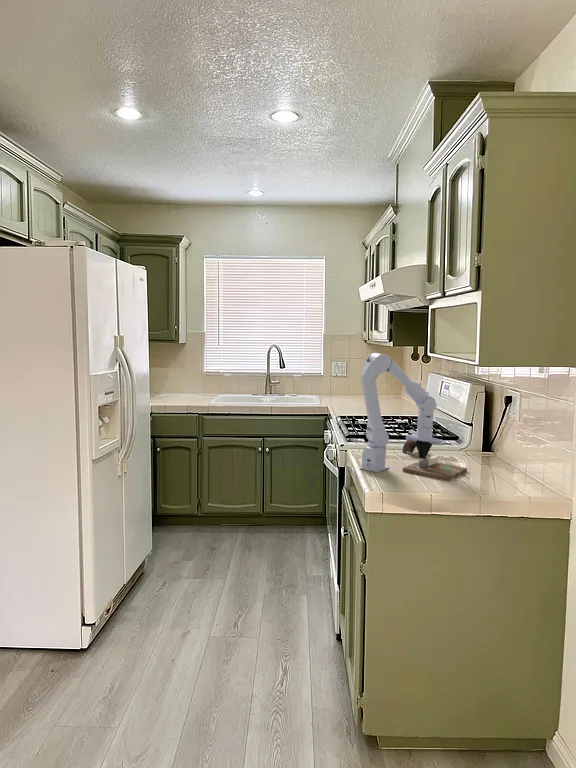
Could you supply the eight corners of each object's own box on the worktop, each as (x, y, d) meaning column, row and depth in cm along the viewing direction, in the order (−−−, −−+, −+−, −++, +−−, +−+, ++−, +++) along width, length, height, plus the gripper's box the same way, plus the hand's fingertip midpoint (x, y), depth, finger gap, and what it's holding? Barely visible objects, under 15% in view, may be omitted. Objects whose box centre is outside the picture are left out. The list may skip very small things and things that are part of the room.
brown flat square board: (448, 481, 204) (448, 476, 204) (402, 471, 215) (402, 467, 215) (467, 471, 218) (467, 467, 218) (423, 463, 229) (423, 459, 229)
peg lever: (425, 468, 212) (426, 460, 212) (417, 467, 215) (417, 459, 214) (440, 462, 223) (441, 455, 222) (431, 461, 225) (432, 453, 225)
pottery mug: (402, 450, 254) (412, 435, 253) (420, 462, 250) (430, 446, 250) (397, 448, 243) (408, 432, 242) (416, 461, 239) (427, 444, 239)
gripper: (447, 427, 219) (444, 462, 220) (412, 422, 227) (410, 455, 229) (439, 430, 213) (437, 465, 215) (404, 424, 222) (402, 458, 223)
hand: (422, 460), depth 221 cm, fingers closed
